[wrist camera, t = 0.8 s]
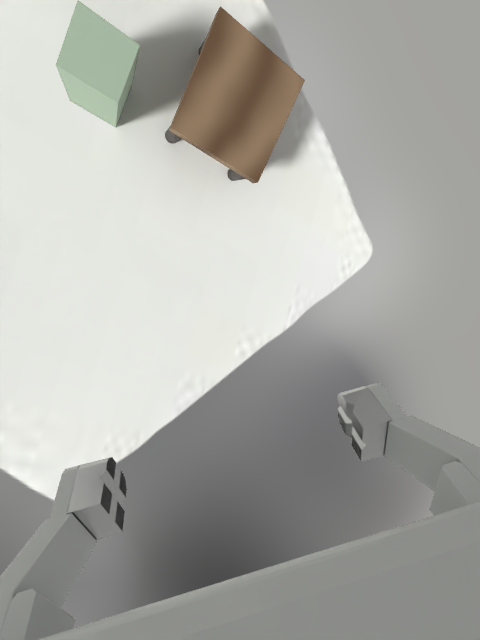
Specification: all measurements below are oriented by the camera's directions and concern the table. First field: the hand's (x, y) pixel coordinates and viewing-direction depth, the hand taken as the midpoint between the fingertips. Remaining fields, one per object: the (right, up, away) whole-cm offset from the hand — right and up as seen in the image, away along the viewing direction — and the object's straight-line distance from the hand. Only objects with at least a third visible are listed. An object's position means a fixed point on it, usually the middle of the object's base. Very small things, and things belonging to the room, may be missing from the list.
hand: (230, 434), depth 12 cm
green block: (-15, +30, +25) cm, 42 cm away
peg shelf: (-2, +30, +30) cm, 42 cm away
